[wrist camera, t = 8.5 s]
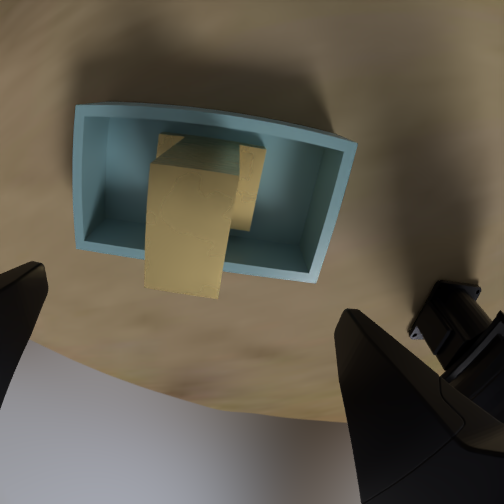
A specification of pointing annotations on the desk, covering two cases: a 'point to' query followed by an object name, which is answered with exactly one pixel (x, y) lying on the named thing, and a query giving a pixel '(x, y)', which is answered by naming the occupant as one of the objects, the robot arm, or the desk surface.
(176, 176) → the brass bracket
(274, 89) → the desk surface
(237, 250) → the blue rectangular open bin
